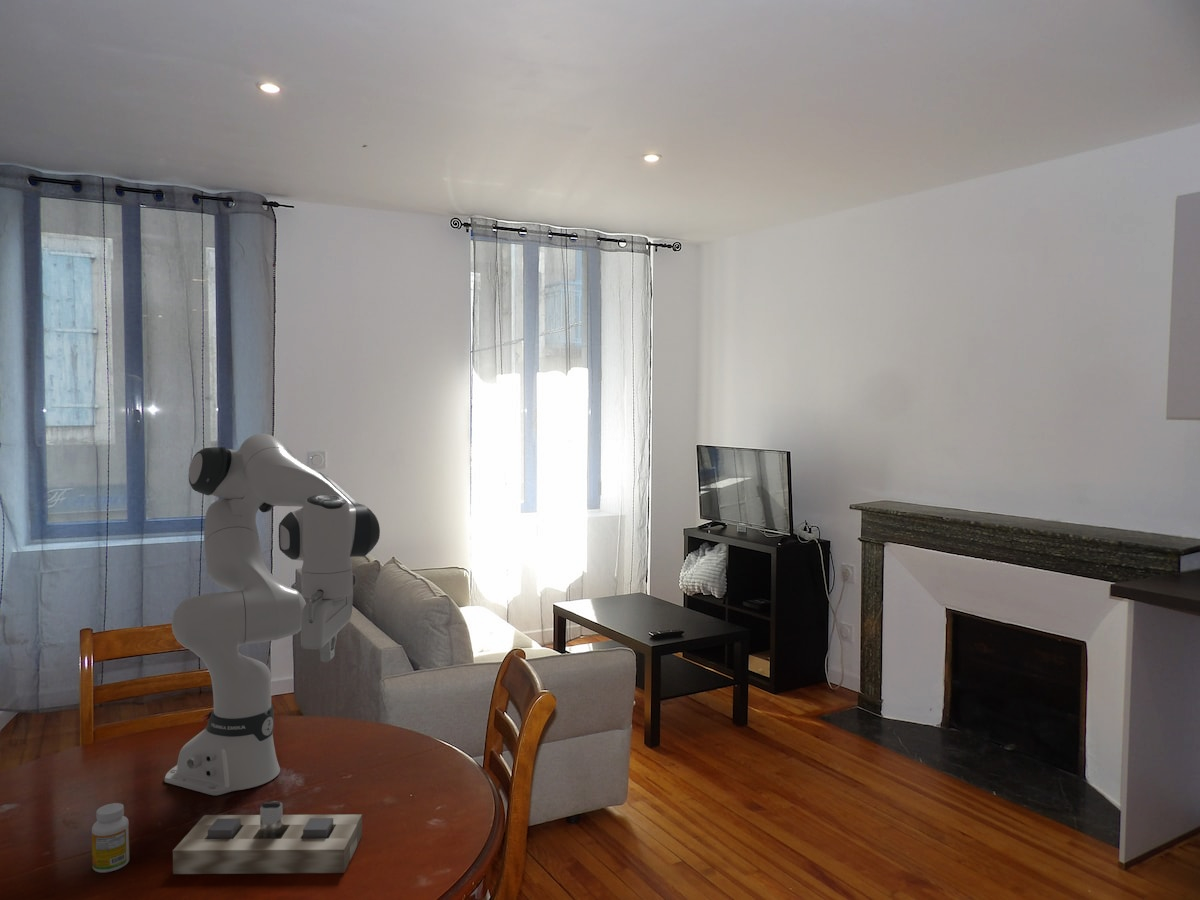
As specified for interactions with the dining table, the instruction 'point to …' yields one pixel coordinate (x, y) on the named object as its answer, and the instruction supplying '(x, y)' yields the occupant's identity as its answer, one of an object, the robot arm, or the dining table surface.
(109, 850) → the supplement bottle
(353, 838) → the mount
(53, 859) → the dining table surface
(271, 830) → the steel dial
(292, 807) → the dining table surface
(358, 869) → the dining table surface
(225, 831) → the inner button
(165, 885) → the dining table surface
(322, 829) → the outer button
